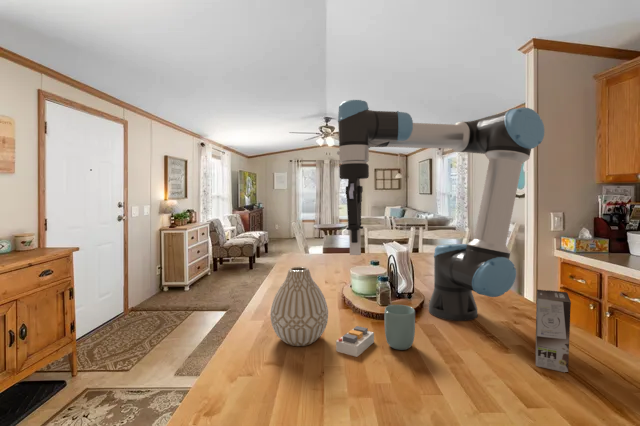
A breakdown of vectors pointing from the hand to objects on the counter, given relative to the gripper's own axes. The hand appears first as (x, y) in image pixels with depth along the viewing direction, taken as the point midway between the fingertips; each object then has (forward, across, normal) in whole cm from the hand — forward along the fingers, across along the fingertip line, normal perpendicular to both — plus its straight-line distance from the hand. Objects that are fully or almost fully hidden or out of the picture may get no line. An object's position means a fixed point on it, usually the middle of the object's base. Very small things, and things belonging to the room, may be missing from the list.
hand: (355, 254), depth 90 cm
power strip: (+25, 0, 0) cm, 25 cm away
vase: (+25, -1, -16) cm, 29 cm away
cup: (+25, -2, +11) cm, 27 cm away
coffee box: (+25, -1, +46) cm, 52 cm away
